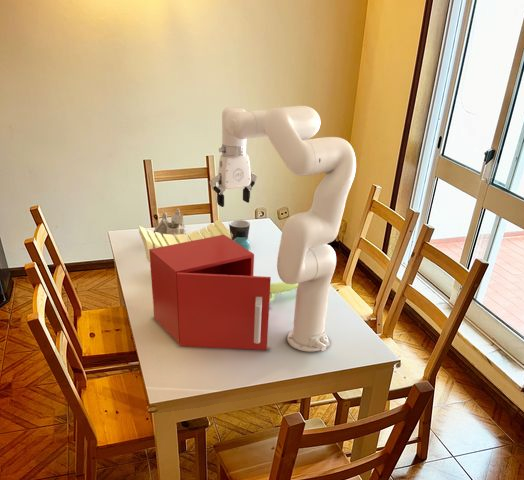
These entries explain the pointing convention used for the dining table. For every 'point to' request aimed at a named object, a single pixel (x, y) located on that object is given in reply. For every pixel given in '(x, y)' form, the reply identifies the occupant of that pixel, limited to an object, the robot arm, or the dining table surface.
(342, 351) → the dining table surface
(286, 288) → the figurine
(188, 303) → the fridge door
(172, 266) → the box
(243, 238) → the beverage bottle
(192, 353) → the dining table surface
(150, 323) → the dining table surface
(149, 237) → the slatted curved stool
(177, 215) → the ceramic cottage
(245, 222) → the coffee mug
